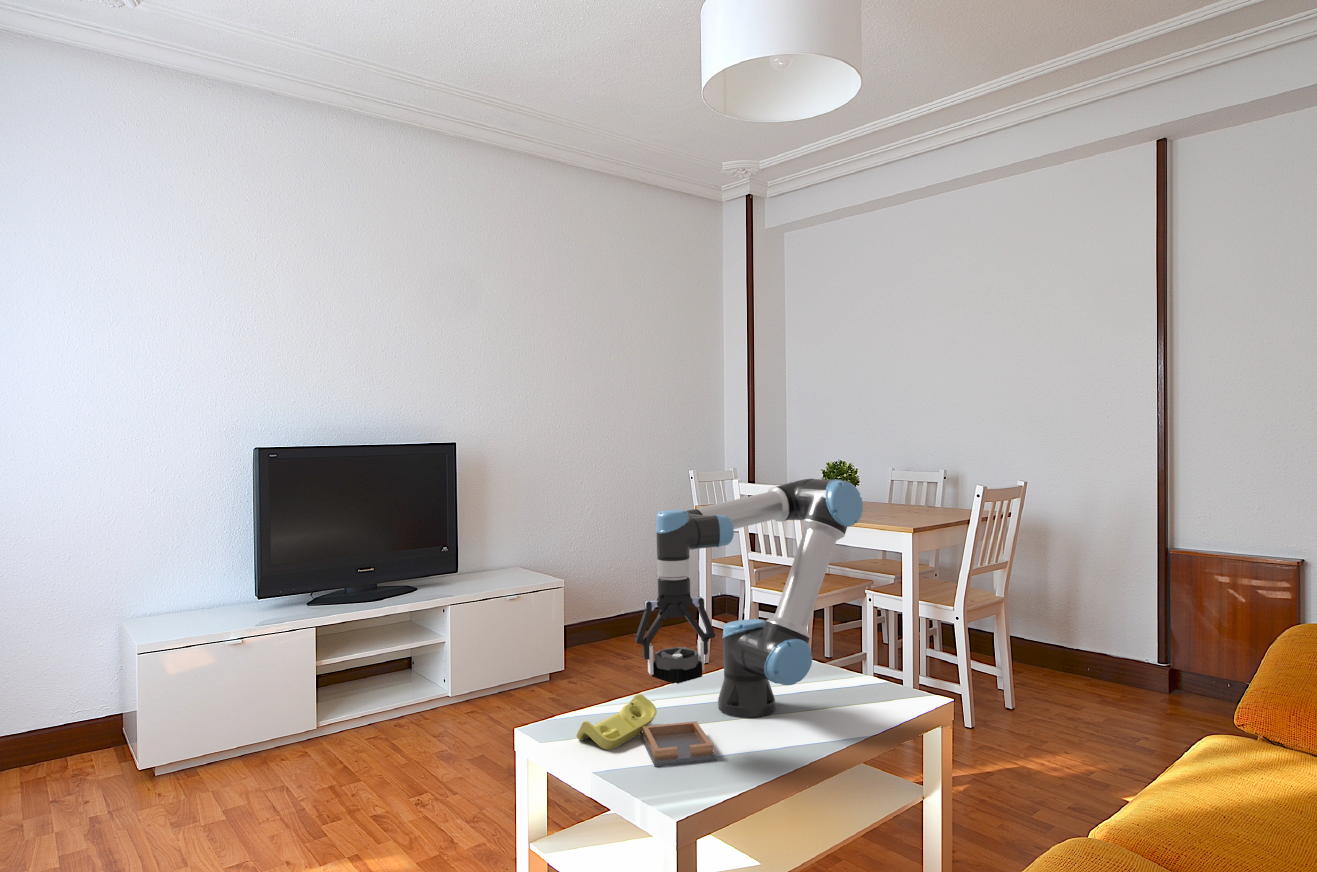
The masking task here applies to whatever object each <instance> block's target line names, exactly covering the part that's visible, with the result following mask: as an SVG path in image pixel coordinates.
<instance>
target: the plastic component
mask: <svg viewBox="0 0 1317 872" xmlns="http://www.w3.org/2000/svg"><path fill="white" fill-rule="evenodd" d="M657 712H658V711H657V708H656V706H655V704H654V703H652V701H651V700H649V698H647V697H646V696H645V695H643V693H638V694H635V696H634V697H633V698H632V699H631V700H630V701H629V702H628V703H627V704H625V705H624V706H623V707H622V709H621V710H620V711H619V712H617V713H615V714H613V715H611V716H609V717H608V718H606V719H603V720H602V721H600V722H598V723H596V724H594V725H593V724H592V723H591V722H590V721H588V720H584V721H583V722H582V723H581V726H580V727H579V729H578V732H577V733H576V738H577V739H578V740H579V741H584V740H587V739H588V738H590V739H592V740H593V741H594V743H596V745H598V746H599V747H600V748H601V749H603V750H606V751H610V750H614V749H616V748H618V747H619V746H621V745H623V744H625V743H626V742H628V741H630V740H632V739H633V738H635V737H637V736H639V735H640V732H642V726H650V724H652V722H653V720H654V719H655V717H657V714H658V713H657Z"/></svg>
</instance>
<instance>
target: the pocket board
mask: <svg viewBox="0 0 1317 872" xmlns="http://www.w3.org/2000/svg"><path fill="white" fill-rule="evenodd" d="M639 735H640V739H641V741H642V744H643V746H644V748H645V749H646V751H647V754H648V756H649V758H650V760H651V763H652V764H653V766H654V768H656V767H666V766H676V765H685V764H686V765H687V764H695V763H703V762H712V761H713V762H715V761H717V754H716V753H715V751H714V744H713V742H712V741H711V739H710V738H709V737H708V736H707V734H706V732H705V731H704V730H703V729H702V727H701V725H700V724H699V723H698V721H686V722H675V723H665V724H653V725H648V726H642V730H641V732H640V734H639Z"/></svg>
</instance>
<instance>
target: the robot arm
mask: <svg viewBox="0 0 1317 872" xmlns="http://www.w3.org/2000/svg"><path fill="white" fill-rule="evenodd" d="M863 510H864V503H863V498H862V496H861V493H860V491H859V488H857V487H856V485H854V484H853V483H851V482H849V481H847V480H840V479H835V478H834V479H823V478H819V479H817V478H804V479H799V480H796V481H791V482H788V483H785V484H780V485H777V486H773V487H771V488H769V489H768V491H767V492H763V493H759V494H753V495H751V496H749V495H748V496H745V497H741V498H736V499H731V500H728V501H723V502H719V503H714V504H709V505H706V506H701V507H697V508H694V509H687V510H684V509H668V510H667V509H666V510H660V511H659V512H658V513H656V522H655V524H656V525H655V527H656V528H655V532H656V534H655V535H656V555H657V557H656V559H657V560H656V561H657V568H656V569H657V576H658V577H659V578H658V579H657V599H656V600H649V599H646V600H644V610H643V614H642V616H641V619H640V623H639V626H638V628H637V631H636V634H635V637H634V640H635V642H636V643H637V645H641V646H642V656H643V658H644V660H645V661H646V660H647V673H648V674H649V675H650V676H652V675H654V674H653V662H654V646H653V645H652V641H653V640H654V639H655V637H656V635H657V633H658V631H659V630H660V628H661V627H662V625H663V623H664V622H665V621H666V620H667V618H668V619H673V618H683V617H685V618H686V621H688V623H689V625H691V627H692V628H693V630H695V632H696V634H697V635H698V636H699V637H700V639H697V652H698V658H699V662H702V671H705V656H706V655H708V653H709V646H708V645H709V640H710V639H714V638H716V632H715V630H714V628H713V625H712V623H711V621H710V618H709V616H708V613H707V611H706V607H705V599H704V598H703V597H702V596H697V597H692V596H691V579H690V577H689V576H690V574H691V571H690V570H691V569H690V567H691V566H690V551H691V550H698V549H708V548H720V547H723V546H725V547H726V546H728V545H729V544H730V543H731V542H732V541H733V538H734V534H735V533H734V530H738V529H741V528H744V527H749V526H753V525H757V524H761V523H765V522H769V521H770V522H771V521H776V522H779V523H781V522H785V521H801V522H800V523H801V524H802V526H803V533H802V536H801V539H800V543H799V544H798V547H797V551H796V553H795V555H794V559H793V562H792V564H791V568H790V571H789V573H788V576H787V579H786V582H785V585H784V587H783V590H782V593H781V596H780V599H779V602H778V605H777V608H776V611H775V614H774V615H773V616H771V618H768V619H766V620H764V619H758V618H757V619H755V618H754V619H752V618H751V619H739V620H738V619H737V620H734V621H733V620H732V621H728V622H727V623H725V625H724V626H723V630H722V645H723V650H722V651H723V682H722V684H721V689H720V692H719V694H718V698H717V704H718V705H717V707H718V710H719V711H720V712H721V713H723V714H724V715H725V714H726V715H729V716H733V717H738V718H757V717H763V716H764V717H765V716H767V715H768V716H769V714H770V715H771V714H772V713H774V712H775V710H776V698H775V695H774V693H773V689H772V687H771V683H774V684H779V685H783V686H792V685H796V684H797V683H799V682H801V681H802V680H803V679H805V677H806V676H807V675H808V673H809V672H810V669H811V667H812V664H813V655H812V649H811V647H810V646H809V642H810V639H811V636H810V634H809V632H808V625H809V623H810V621H811V617H812V615H813V611H814V608H815V605H816V602H817V599H818V597H819V593H820V590H821V588H822V584H823V581H824V578H825V576H826V573H827V570H828V567H829V563H830V561H831V558H832V554H833V553H834V549H835V546H836V544H837V541H838V540H841V539H842V538H844V537H845V536H846V533H847V530H848V528H849V527H852V526H855V524H857V523H858V522H859V521H860V520H861V517H862V516H863V515H862V514H863ZM692 604H693V605H694V606H695V607H696V608H697V611H698V613H699V616H700V617H701V620H702V623H703V626H704V628H705V630H706V632H704V629H702V628H701V626H700V625H699V623H698V622H697V620H696V619H695V618H694V617H693V615H692V613H691V612H690V607H691V606H692ZM656 607H658V608H659V612H658V614H657V615H656V618H655V620H654V621H653V622H652V624H651V626H650V627H649V629H648V631H647V628H648V625H649V621H650V619H651V616H652V611H654V610H655V608H656ZM646 631H647V632H646ZM770 682H771V683H770Z"/></svg>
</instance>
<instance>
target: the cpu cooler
mask: <svg viewBox="0 0 1317 872" xmlns="http://www.w3.org/2000/svg"><path fill="white" fill-rule="evenodd" d="M654 653H655V654H654V660H653V674H654V675H651V678H655V679H658V680H660V681H663V682H667V683H668V684H669V683H670V684H672V685H673V684H682V683H685V682H689V681H693V680H696V679H699V678H703V670H702V662H699V658H698V651H696V650H695V649H692V648H688V647H684V646H683V647H682V646H681V647H680V646H677V647H676V646H675V647H669V648H663V649H660V650H657V651H656V652H654Z"/></svg>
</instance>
